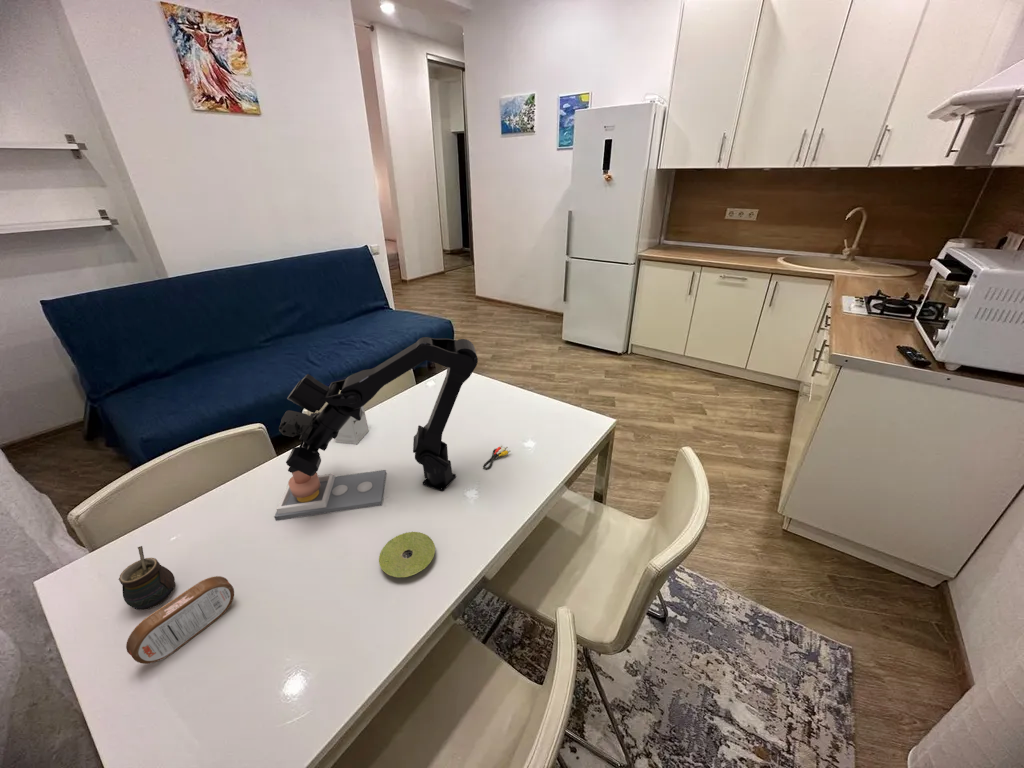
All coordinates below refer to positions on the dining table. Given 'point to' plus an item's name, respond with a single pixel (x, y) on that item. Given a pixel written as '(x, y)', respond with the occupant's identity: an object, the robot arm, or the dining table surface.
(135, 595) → the mate gourd
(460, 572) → the dining table surface
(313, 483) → the pink flanged peg
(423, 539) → the green disc
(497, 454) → the composite cable
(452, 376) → the robot arm
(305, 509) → the station board
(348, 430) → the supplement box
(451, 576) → the dining table surface
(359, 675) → the dining table surface
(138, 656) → the tin
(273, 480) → the dining table surface
